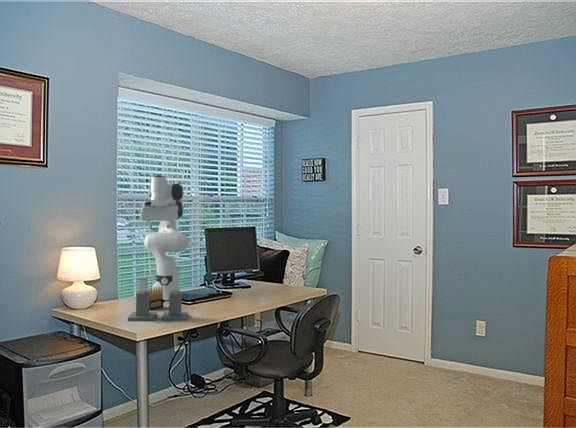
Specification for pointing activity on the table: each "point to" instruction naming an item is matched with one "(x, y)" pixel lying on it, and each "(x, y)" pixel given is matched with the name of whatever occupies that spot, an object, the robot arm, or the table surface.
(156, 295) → the ammunition clip
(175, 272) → the right jack stand
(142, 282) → the left jack column
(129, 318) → the base
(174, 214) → the robot arm
